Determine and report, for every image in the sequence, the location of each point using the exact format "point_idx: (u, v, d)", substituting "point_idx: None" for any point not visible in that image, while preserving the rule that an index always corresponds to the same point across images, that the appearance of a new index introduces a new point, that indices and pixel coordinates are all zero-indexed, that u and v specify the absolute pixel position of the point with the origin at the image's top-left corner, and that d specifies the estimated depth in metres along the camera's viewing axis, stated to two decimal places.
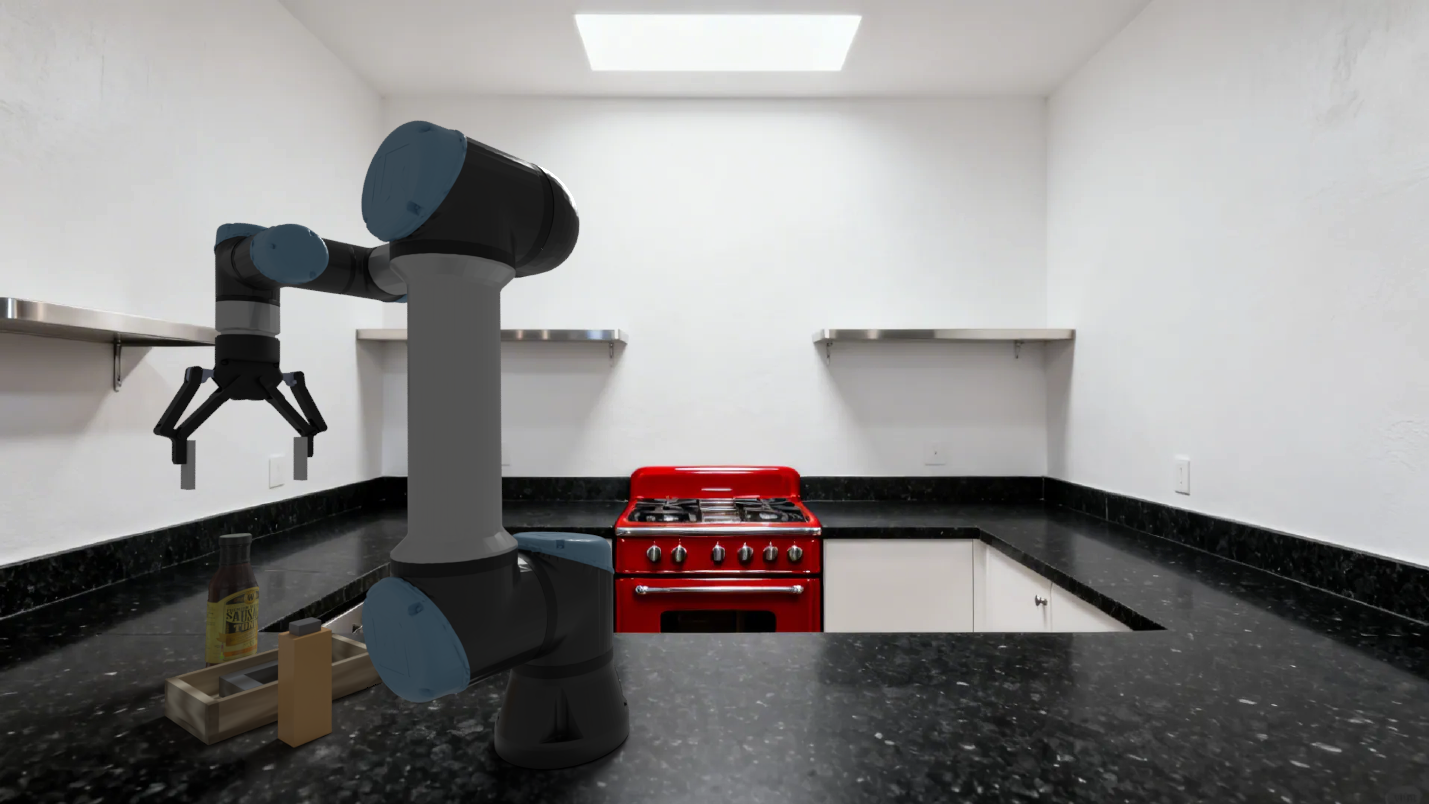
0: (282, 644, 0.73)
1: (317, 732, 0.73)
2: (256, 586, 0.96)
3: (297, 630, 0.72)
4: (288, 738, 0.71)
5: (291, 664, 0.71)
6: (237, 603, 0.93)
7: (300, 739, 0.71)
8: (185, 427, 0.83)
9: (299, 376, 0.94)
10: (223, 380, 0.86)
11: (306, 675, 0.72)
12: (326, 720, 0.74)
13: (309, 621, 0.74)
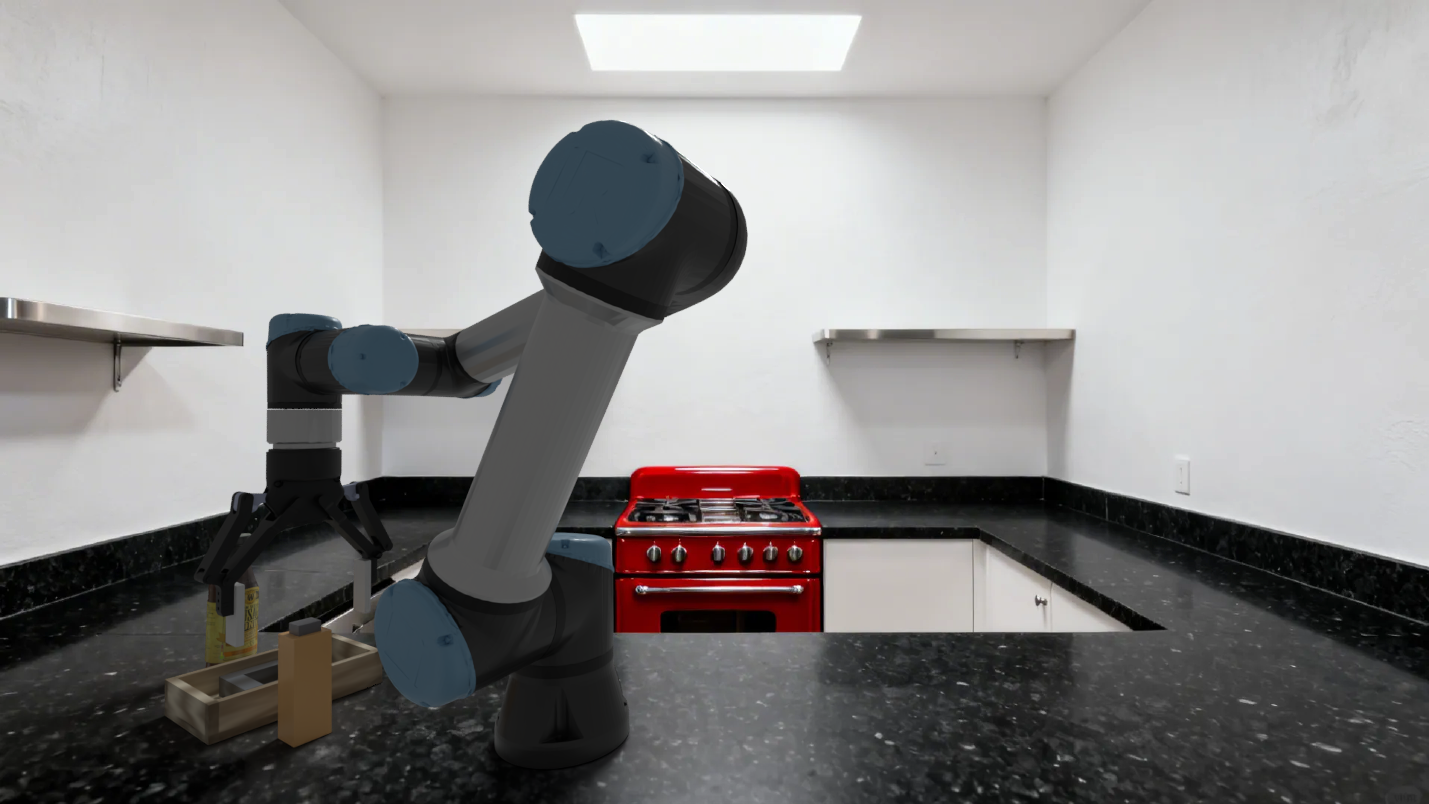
0: (282, 644, 0.73)
1: (317, 732, 0.73)
2: (256, 586, 0.96)
3: (297, 630, 0.72)
4: (288, 738, 0.71)
5: (290, 664, 0.71)
6: None
7: (300, 739, 0.71)
8: (233, 570, 0.67)
9: (362, 489, 0.79)
10: (277, 506, 0.71)
11: (306, 675, 0.72)
12: (326, 720, 0.74)
13: (309, 621, 0.74)
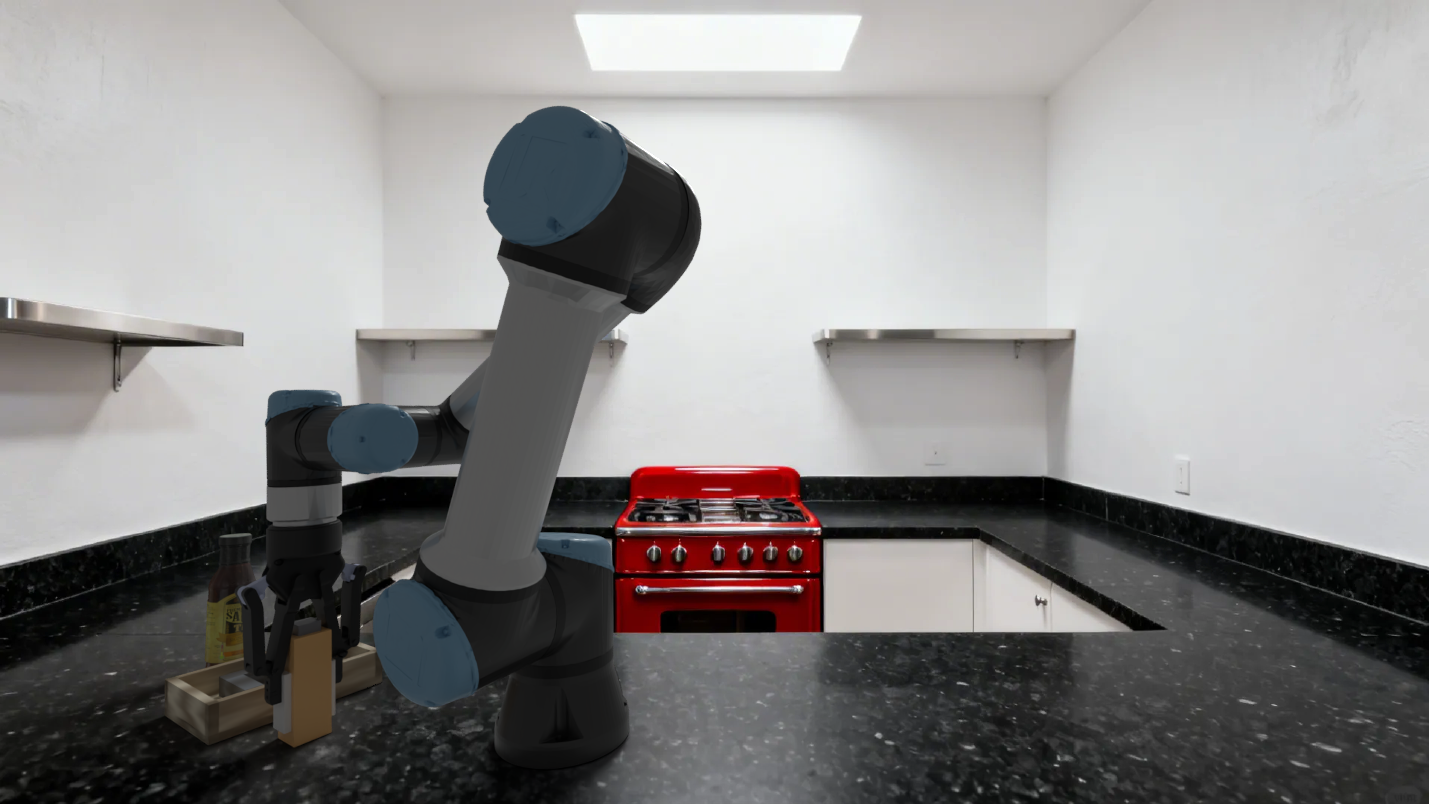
0: None
1: (317, 732, 0.73)
2: None
3: (297, 630, 0.72)
4: (288, 738, 0.72)
5: (290, 664, 0.71)
6: (237, 603, 0.93)
7: (300, 739, 0.71)
8: (275, 662, 0.70)
9: (360, 572, 0.78)
10: (282, 583, 0.71)
11: (306, 674, 0.72)
12: (326, 720, 0.74)
13: (309, 621, 0.74)
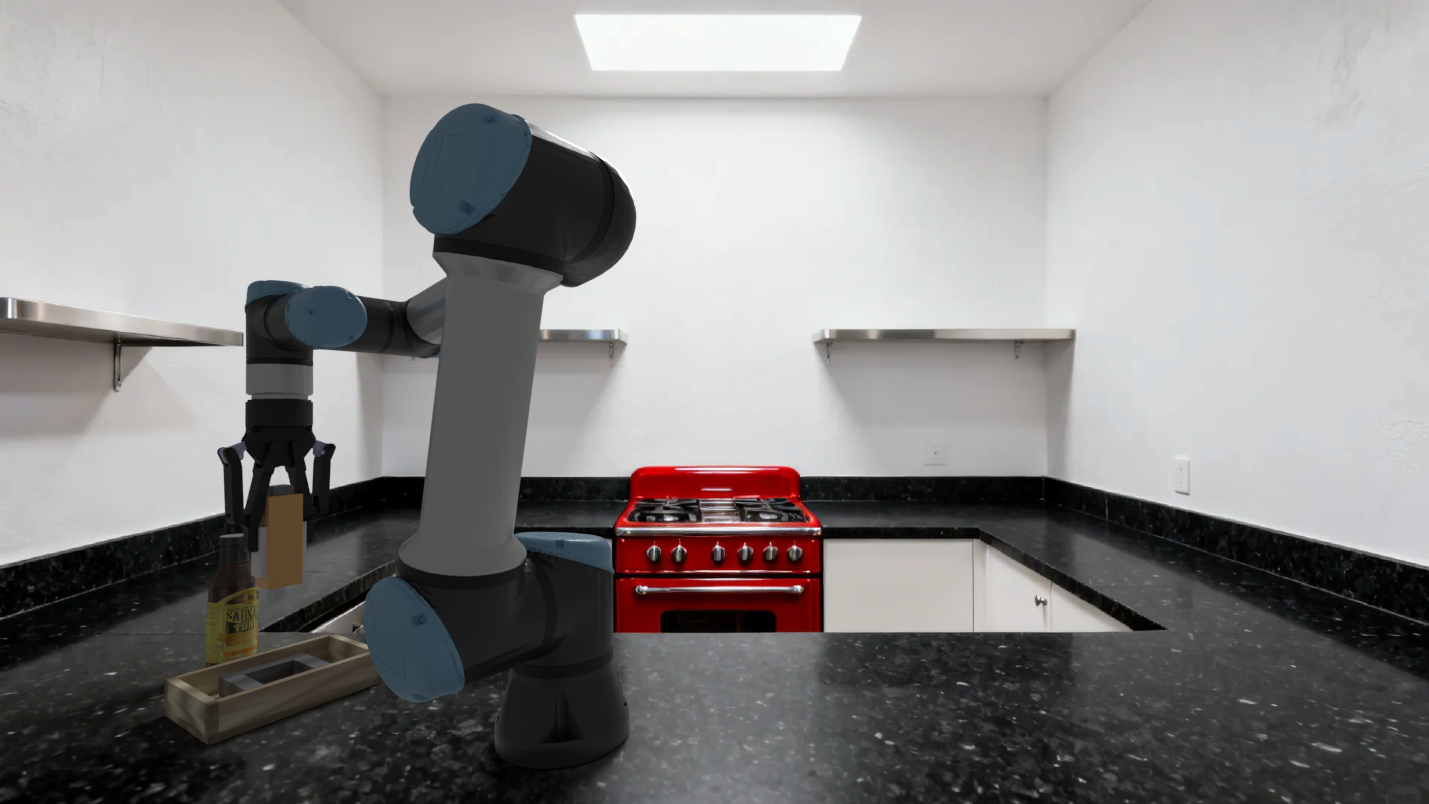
0: None
1: (289, 580, 0.83)
2: (256, 586, 0.96)
3: (272, 491, 0.83)
4: (264, 583, 0.82)
5: (266, 518, 0.82)
6: (237, 603, 0.93)
7: (274, 584, 0.82)
8: (252, 515, 0.81)
9: (330, 448, 0.89)
10: (258, 448, 0.82)
11: (279, 529, 0.83)
12: (297, 571, 0.84)
13: (283, 485, 0.84)
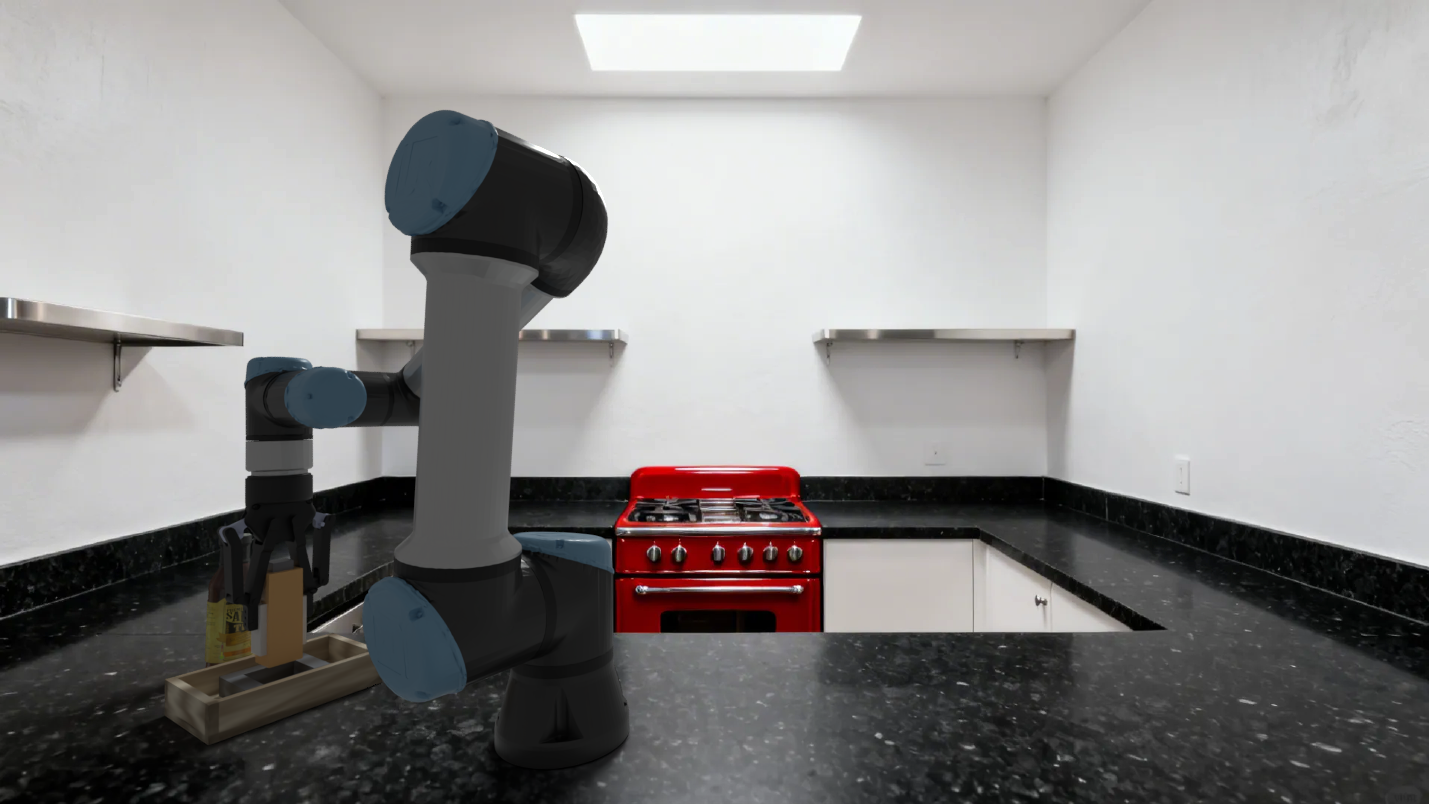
0: None
1: (289, 656, 0.83)
2: None
3: (272, 567, 0.83)
4: (264, 661, 0.82)
5: (266, 596, 0.82)
6: None
7: (274, 661, 0.82)
8: (252, 593, 0.81)
9: (330, 520, 0.89)
10: (258, 525, 0.81)
11: (279, 606, 0.82)
12: (298, 647, 0.84)
13: (283, 560, 0.84)
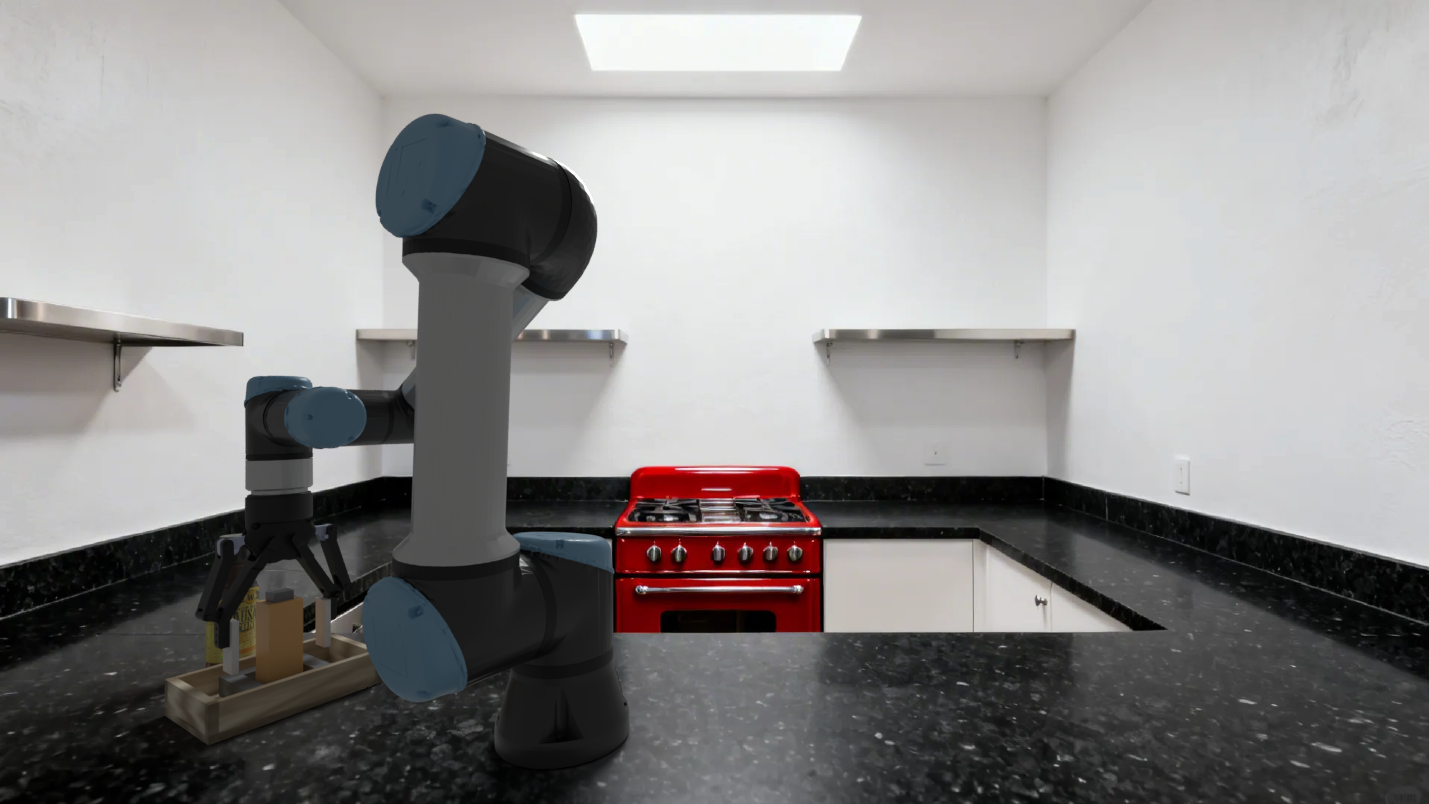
0: (259, 609, 0.83)
1: None
2: (256, 586, 0.96)
3: (272, 597, 0.83)
4: None
5: (266, 627, 0.82)
6: None
7: None
8: (227, 609, 0.78)
9: (332, 530, 0.89)
10: (256, 545, 0.81)
11: (280, 636, 0.82)
12: None
13: (283, 590, 0.84)
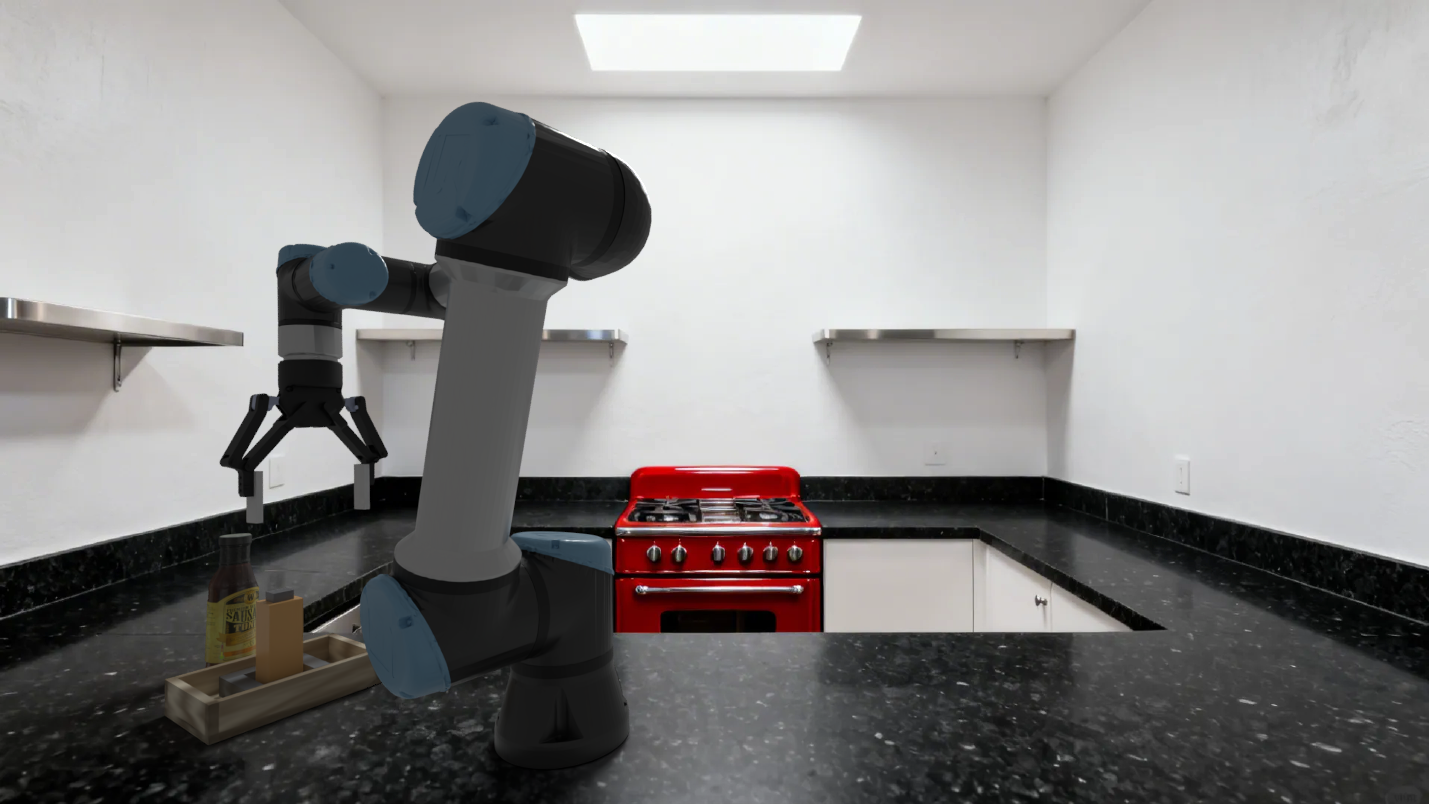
0: (259, 609, 0.83)
1: None
2: (256, 586, 0.96)
3: (272, 597, 0.83)
4: None
5: (266, 627, 0.82)
6: (237, 603, 0.93)
7: None
8: (253, 458, 0.79)
9: (360, 401, 0.91)
10: (288, 407, 0.83)
11: (280, 636, 0.82)
12: None
13: (283, 590, 0.84)
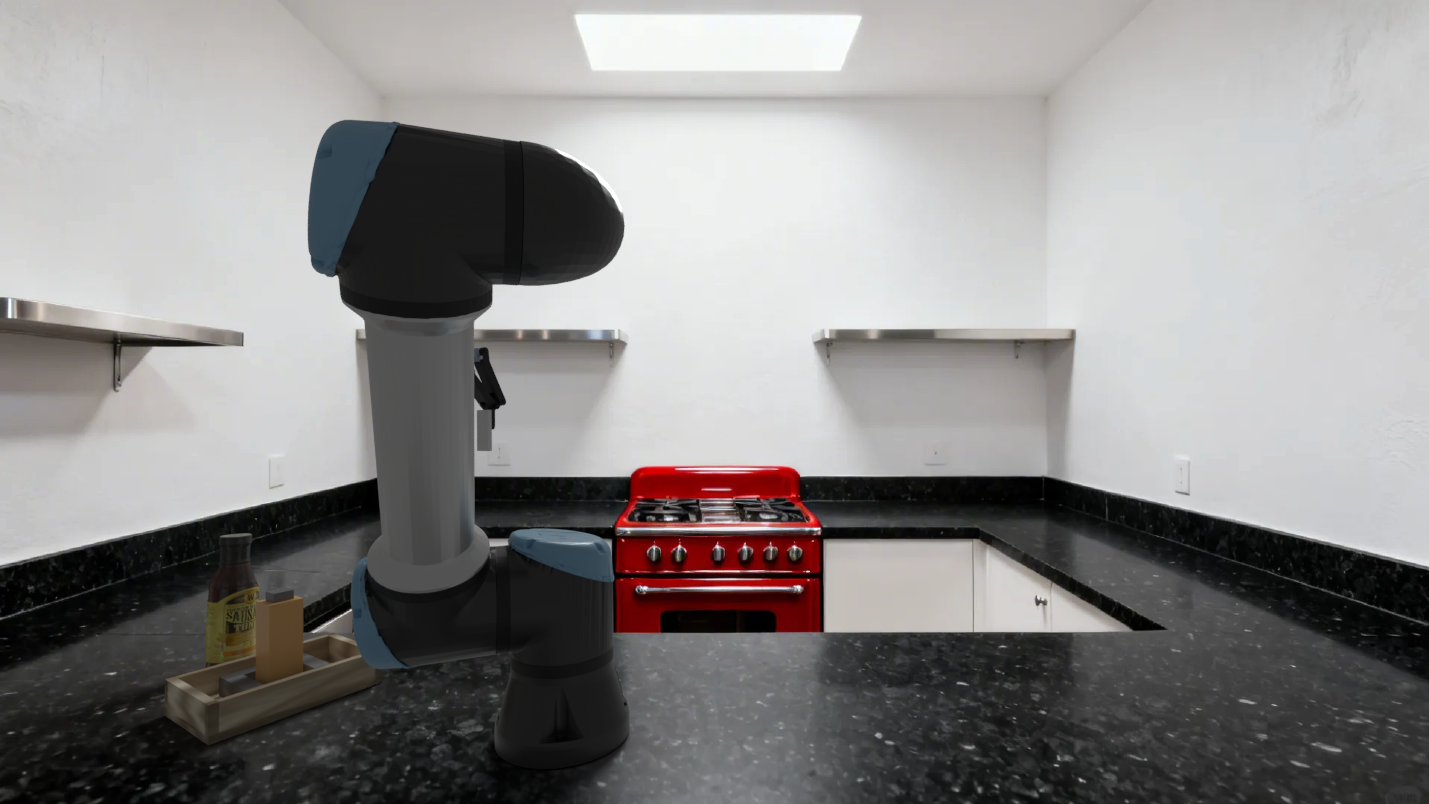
0: (259, 609, 0.83)
1: None
2: (256, 586, 0.96)
3: (272, 597, 0.83)
4: None
5: (266, 627, 0.82)
6: (237, 603, 0.93)
7: None
8: None
9: (485, 352, 0.99)
10: None
11: (280, 636, 0.82)
12: None
13: (283, 590, 0.84)
